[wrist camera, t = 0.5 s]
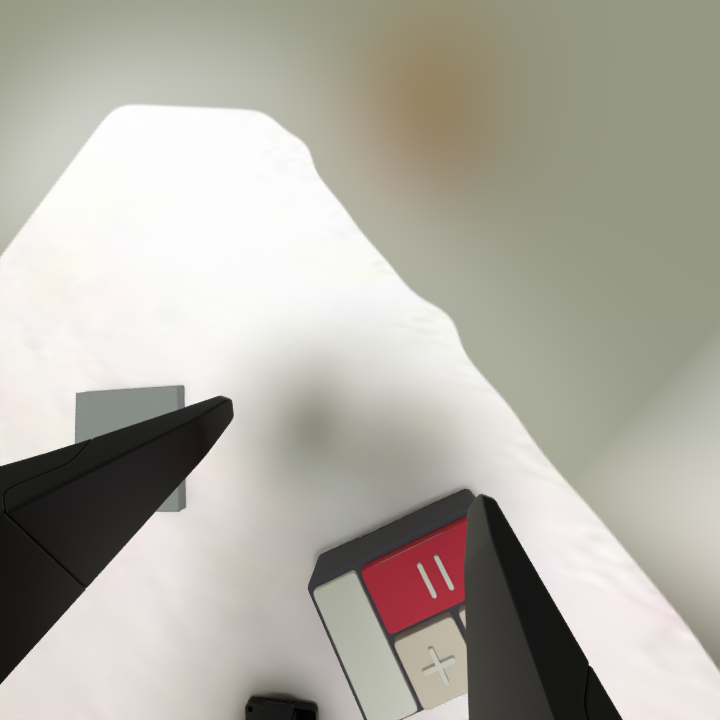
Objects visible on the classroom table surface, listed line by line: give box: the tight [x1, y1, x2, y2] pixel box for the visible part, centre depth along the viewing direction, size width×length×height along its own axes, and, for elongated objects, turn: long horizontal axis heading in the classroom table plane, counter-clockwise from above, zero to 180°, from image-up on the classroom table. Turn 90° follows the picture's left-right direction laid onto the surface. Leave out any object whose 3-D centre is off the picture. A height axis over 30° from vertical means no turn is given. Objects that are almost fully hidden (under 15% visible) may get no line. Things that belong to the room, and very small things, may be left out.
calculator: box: [308, 489, 476, 720], centre depth 20 cm, size 11×4×15 cm
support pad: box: [75, 386, 185, 512], centre depth 26 cm, size 12×12×1 cm
